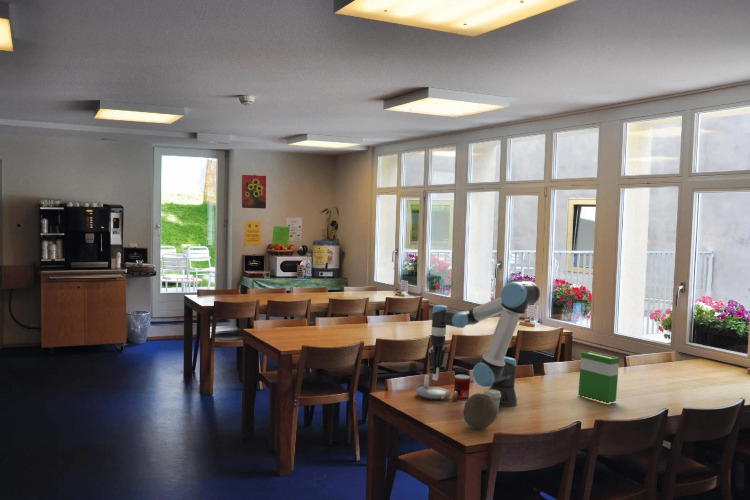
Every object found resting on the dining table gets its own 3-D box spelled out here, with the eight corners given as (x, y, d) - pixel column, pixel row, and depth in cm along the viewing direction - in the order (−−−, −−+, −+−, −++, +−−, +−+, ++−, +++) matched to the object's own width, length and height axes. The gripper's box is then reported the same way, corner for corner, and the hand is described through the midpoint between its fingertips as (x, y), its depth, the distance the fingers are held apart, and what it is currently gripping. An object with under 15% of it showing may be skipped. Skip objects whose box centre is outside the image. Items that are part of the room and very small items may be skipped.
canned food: (470, 396, 331) (471, 375, 331) (467, 400, 324) (468, 379, 323) (455, 394, 334) (456, 373, 333) (452, 398, 326) (453, 376, 326)
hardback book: (578, 396, 346) (581, 352, 345) (586, 394, 350) (589, 351, 349) (607, 405, 332) (611, 358, 331) (615, 403, 336) (619, 357, 335)
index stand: (457, 401, 321) (458, 391, 320) (444, 405, 313) (445, 394, 313) (431, 393, 332) (432, 383, 332) (418, 397, 325) (419, 386, 325)
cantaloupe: (484, 436, 270) (486, 400, 269) (456, 427, 279) (458, 393, 279) (501, 429, 280) (504, 395, 280) (474, 421, 290) (476, 388, 289)
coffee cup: (479, 413, 302) (480, 388, 302) (496, 414, 303) (498, 389, 302) (483, 419, 294) (485, 393, 293) (501, 420, 294) (503, 394, 294)
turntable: (457, 395, 324) (458, 380, 324) (436, 400, 312) (437, 385, 312) (430, 387, 337) (431, 373, 336) (409, 392, 325) (410, 377, 324)
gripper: (440, 332, 343) (437, 376, 344) (424, 334, 333) (421, 379, 334) (451, 335, 337) (448, 379, 338) (435, 337, 328) (432, 383, 329)
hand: (435, 379), depth 336 cm, fingers closed
